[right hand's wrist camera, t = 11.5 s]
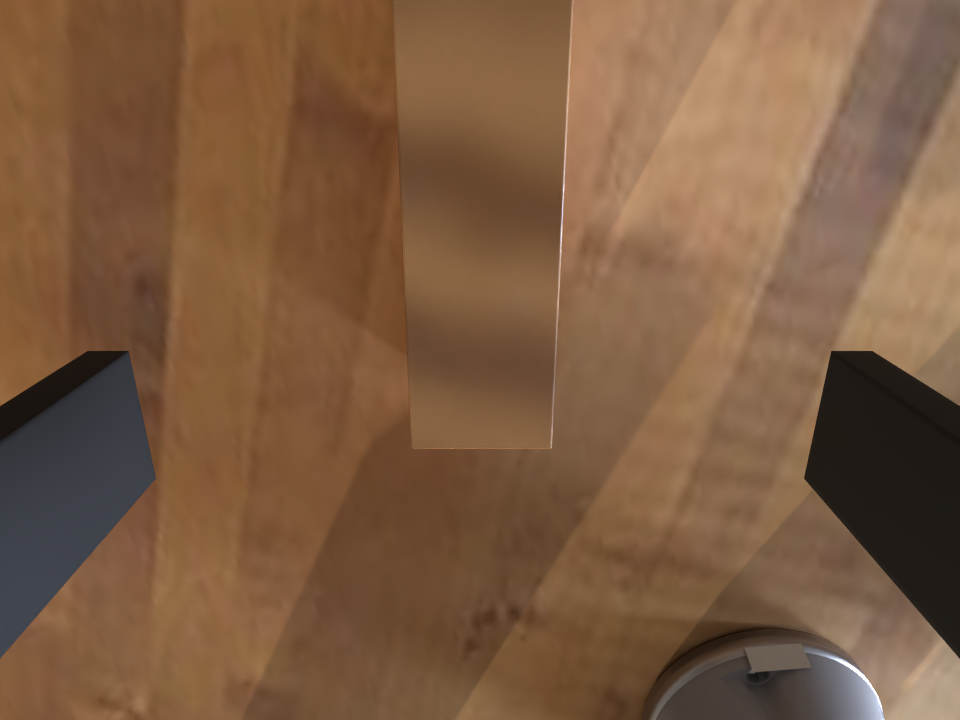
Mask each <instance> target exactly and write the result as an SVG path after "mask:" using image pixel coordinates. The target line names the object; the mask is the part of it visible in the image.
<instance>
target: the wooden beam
mask: <svg viewBox="0 0 960 720" xmlns="http://www.w3.org/2000/svg"><path fill="white" fill-rule="evenodd" d="M392 11H393V35H394V58H395V81H396V105H397V128H398V151H399V175H400V198H401V221H402V245H403V268H404V291H405V315H406V338H407V361H408V385H409V408H410V431H411V447H412V448H413V449H551V447H552V435H553V414H554V393H555V372H556V352H557V331H558V310H559V289H560V269H561V248H562V227H563V206H564V186H565V165H566V144H567V123H568V103H569V82H570V61H571V40H572V20H573V0H392Z"/></svg>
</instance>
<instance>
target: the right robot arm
mask: <svg viewBox="0 0 960 720" xmlns="http://www.w3.org/2000/svg"><path fill="white" fill-rule="evenodd" d="M155 479H156V477H155V472H154V467H153V463H152V458H151V453H150V449H149V444H148V439H147V435H146V430H145V425H144V421H143V416H142V411H141V407H140V402H139V397H138V393H137V388H136V383H135V379H134V374H133V369H132V365H131V360H130V355H129V351H87V352H85V353H84V354H82V355H81V356H79V357H78V358H76V359H74V360H73V361H71V362H70V363H68V364H66V365H65V366H63V367H62V368H60V369H58V370H57V371H55V372H54V373H52V374H51V375H49V376H47V377H46V378H44V379H43V380H41V381H39V382H38V383H36V384H35V385H33V386H32V387H30V388H28V389H27V390H25V391H24V392H22V393H20V394H19V395H17V396H16V397H14V398H13V399H11V400H9V401H8V402H6V403H5V404H3V405H1V406H0V658H1V657H2V656H3V655H4V653H5V652H6V651H7V650H8V649H9V648H10V647H11V645H12V644H13V643H14V642H15V641H16V640H17V638H18V637H19V636H20V635H21V634H22V633H23V632H24V630H25V629H26V628H27V627H28V626H29V625H30V623H31V622H32V621H33V620H34V619H35V618H36V616H37V615H38V614H39V613H40V612H41V611H42V610H43V608H44V607H45V606H46V605H47V604H48V603H49V601H50V600H51V599H52V598H53V597H54V596H55V594H56V593H57V592H58V591H59V590H60V589H61V588H62V586H63V585H64V584H65V583H66V582H67V581H68V579H69V578H70V577H71V576H72V575H73V574H74V573H75V571H76V570H77V569H78V568H79V567H80V566H81V564H82V563H83V562H84V561H85V560H86V559H87V557H88V556H89V555H90V554H91V553H92V552H93V551H94V549H95V548H96V547H97V546H98V545H99V544H100V542H101V541H102V540H103V539H104V538H105V537H106V536H107V534H108V533H109V532H110V531H111V530H112V529H113V527H114V526H115V525H116V524H117V523H118V522H119V520H120V519H121V518H122V517H123V516H124V515H125V514H126V512H127V511H128V510H129V509H130V508H131V507H132V505H133V504H134V503H135V502H136V501H137V500H138V498H139V497H140V496H141V495H142V494H143V493H144V492H145V490H146V489H147V488H148V487H149V486H150V485H151V483H152V482H153V481H154V480H155ZM804 479H805V480H806V481H807V482H808V483H809V485H810V486H811V487H812V488H813V489H814V490H815V492H816V493H817V494H818V495H819V496H820V497H821V498H822V500H823V501H824V502H825V503H826V504H827V505H828V507H829V508H830V509H831V510H832V511H833V512H834V514H835V515H836V516H837V517H838V518H839V519H840V520H841V522H842V523H843V524H844V525H845V526H846V527H847V529H848V530H849V531H850V532H851V533H852V534H853V536H854V537H855V538H856V539H857V540H858V541H859V542H860V544H861V545H862V546H863V547H864V548H865V549H866V551H867V552H868V553H869V554H870V555H871V556H872V557H873V559H874V560H875V561H876V562H877V563H878V564H879V566H880V567H881V568H882V569H883V570H884V571H885V573H886V574H887V575H888V576H889V577H890V578H891V579H892V581H893V582H894V583H895V584H896V585H897V586H898V588H899V589H900V590H901V591H902V592H903V593H904V595H905V596H906V597H907V598H908V599H909V600H910V601H911V603H912V604H913V605H914V606H915V607H916V608H917V610H918V611H919V612H920V613H921V614H922V615H923V616H924V618H925V619H926V620H927V621H928V622H929V623H930V625H931V626H932V627H933V628H934V629H935V630H936V632H937V633H938V634H939V635H940V636H941V637H942V638H943V640H944V641H945V642H946V643H947V644H948V645H949V647H950V648H951V649H952V650H953V651H954V652H955V653H956V655H957V656H958V657H959V658H960V406H959V405H957V404H955V403H954V402H952V401H951V400H949V399H947V398H946V397H944V396H943V395H941V394H940V393H938V392H936V391H935V390H933V389H932V388H930V387H928V386H927V385H925V384H924V383H922V382H921V381H919V380H917V379H916V378H914V377H913V376H911V375H909V374H908V373H906V372H905V371H903V370H902V369H900V368H898V367H897V366H895V365H894V364H892V363H890V362H889V361H887V360H886V359H884V358H882V357H881V356H879V355H878V354H876V353H875V352H873V351H831V355H830V360H829V365H828V369H827V374H826V379H825V383H824V388H823V393H822V397H821V402H820V407H819V411H818V416H817V421H816V425H815V430H814V435H813V439H812V444H811V449H810V453H809V458H808V463H807V467H806V472H805V477H804ZM642 720H885V719H884V715H883V711H882V707H881V703H880V700H879V698H878V696H877V693H876V692H875V690H874V689H873V687H872V686H871V684H870V683H869V681H868V680H867V678H866V677H865V675H864V674H863V672H862V671H861V669H860V668H859V666H858V665H857V663H856V662H855V661H854V660H853V659H852V657H850V656H849V655H848V654H847V653H846V652H845V651H844V650H842V649H841V648H840V647H838V646H837V645H835V644H833V643H831V642H830V641H828V640H825V639H823V638H821V637H818V636H815V635H812V634H809V633H804V632H800V631H794V630H786V629H760V630H750V631H744V632H739V633H735V634H731V635H727V636H724V637H721V638H718V639H715V640H713V641H710V642H708V643H706V644H704V645H702V646H700V647H698V648H696V649H694V650H692V651H691V652H689V653H687V654H686V655H684V656H683V657H682V658H680V659H679V660H678V661H676V662H675V663H674V664H673V665H672V666H670V667H669V668H668V669H667V670H666V671H665V672H664V673H663V675H662V676H661V677H660V678H659V679H658V681H657V682H656V684H655V685H654V687H653V688H652V690H651V692H650V694H649V696H648V698H647V701H646V703H645V707H644V711H643V718H642Z"/></svg>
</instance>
